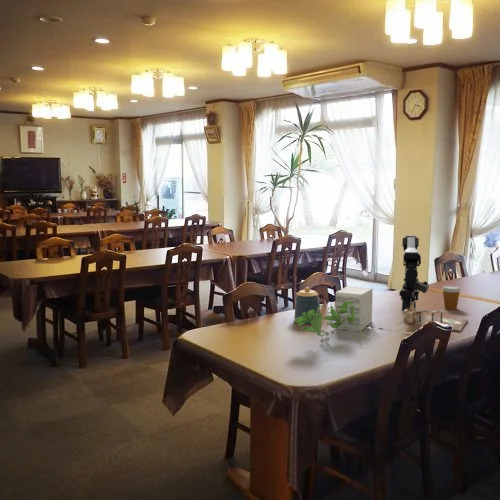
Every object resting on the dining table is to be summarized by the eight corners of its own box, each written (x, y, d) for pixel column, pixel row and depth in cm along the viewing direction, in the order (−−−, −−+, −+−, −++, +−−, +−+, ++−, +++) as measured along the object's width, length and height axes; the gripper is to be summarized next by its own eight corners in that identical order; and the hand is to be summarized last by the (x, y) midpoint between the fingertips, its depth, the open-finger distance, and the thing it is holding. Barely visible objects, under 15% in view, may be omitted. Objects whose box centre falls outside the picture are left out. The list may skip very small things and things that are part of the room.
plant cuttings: (364, 354, 242) (334, 318, 253) (385, 329, 232) (352, 292, 244) (312, 373, 219) (281, 332, 230) (332, 345, 209) (299, 304, 221)
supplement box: (347, 320, 275) (347, 285, 273) (372, 323, 268) (373, 288, 266) (334, 328, 260) (334, 291, 258) (360, 332, 253) (361, 294, 251)
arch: (403, 321, 267) (404, 302, 266) (407, 318, 274) (408, 299, 273) (411, 322, 265) (412, 303, 264) (415, 319, 272) (416, 300, 271)
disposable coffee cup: (462, 310, 294) (463, 288, 293) (444, 310, 294) (445, 288, 293) (456, 306, 303) (456, 285, 302) (439, 306, 304) (439, 285, 302)
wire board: (395, 324, 266) (396, 310, 266) (407, 314, 285) (407, 302, 284) (460, 332, 251) (460, 317, 250) (467, 321, 270) (468, 308, 269)
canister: (290, 322, 272) (290, 288, 270) (300, 316, 283) (300, 283, 281) (314, 325, 266) (314, 290, 264) (323, 319, 277) (323, 285, 275)
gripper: (423, 280, 255) (422, 313, 257) (431, 275, 271) (430, 305, 273) (399, 278, 261) (398, 310, 263) (409, 273, 277) (408, 303, 279)
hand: (410, 307), depth 269 cm, fingers open, 6 cm apart
